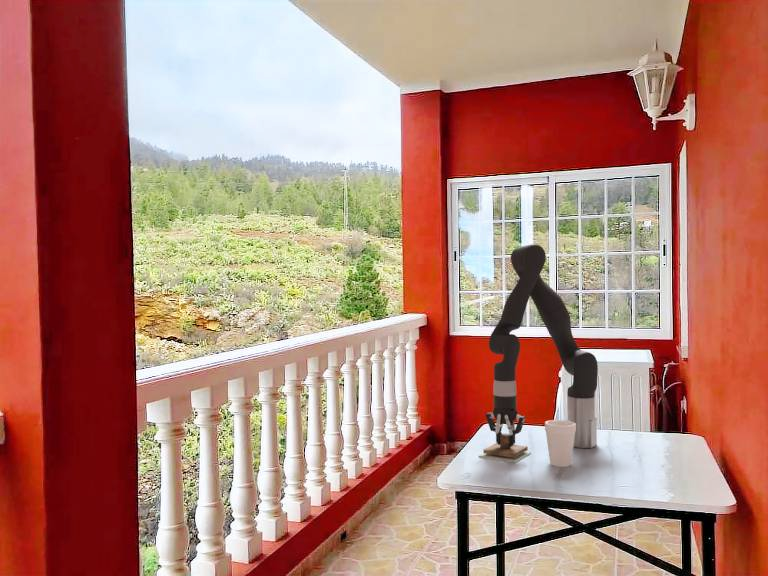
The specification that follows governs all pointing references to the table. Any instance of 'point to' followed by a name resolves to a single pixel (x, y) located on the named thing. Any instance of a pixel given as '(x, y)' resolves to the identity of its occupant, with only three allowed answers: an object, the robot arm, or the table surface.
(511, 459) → the mat
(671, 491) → the table surface
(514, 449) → the lid
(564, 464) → the foam cup
